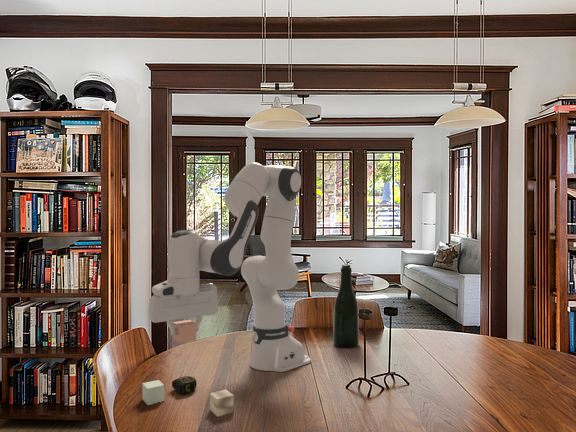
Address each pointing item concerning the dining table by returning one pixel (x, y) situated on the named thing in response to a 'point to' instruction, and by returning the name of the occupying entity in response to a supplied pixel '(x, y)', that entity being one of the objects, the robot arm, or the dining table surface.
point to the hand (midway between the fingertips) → (184, 333)
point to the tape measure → (184, 384)
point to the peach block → (185, 331)
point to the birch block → (221, 402)
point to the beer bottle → (346, 313)
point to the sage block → (153, 392)
